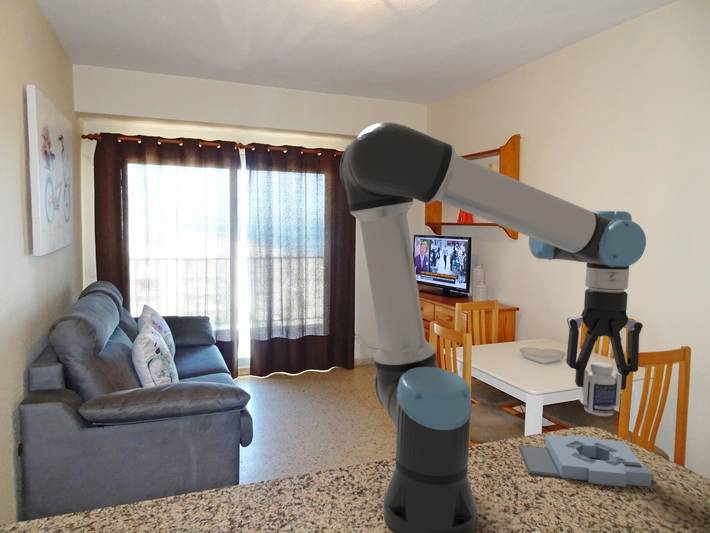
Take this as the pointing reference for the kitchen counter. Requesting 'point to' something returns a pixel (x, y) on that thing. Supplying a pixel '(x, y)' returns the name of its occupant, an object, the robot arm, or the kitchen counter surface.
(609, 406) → the pill bottle
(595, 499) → the kitchen counter surface
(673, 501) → the kitchen counter surface
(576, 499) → the kitchen counter surface
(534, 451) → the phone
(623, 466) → the dock
